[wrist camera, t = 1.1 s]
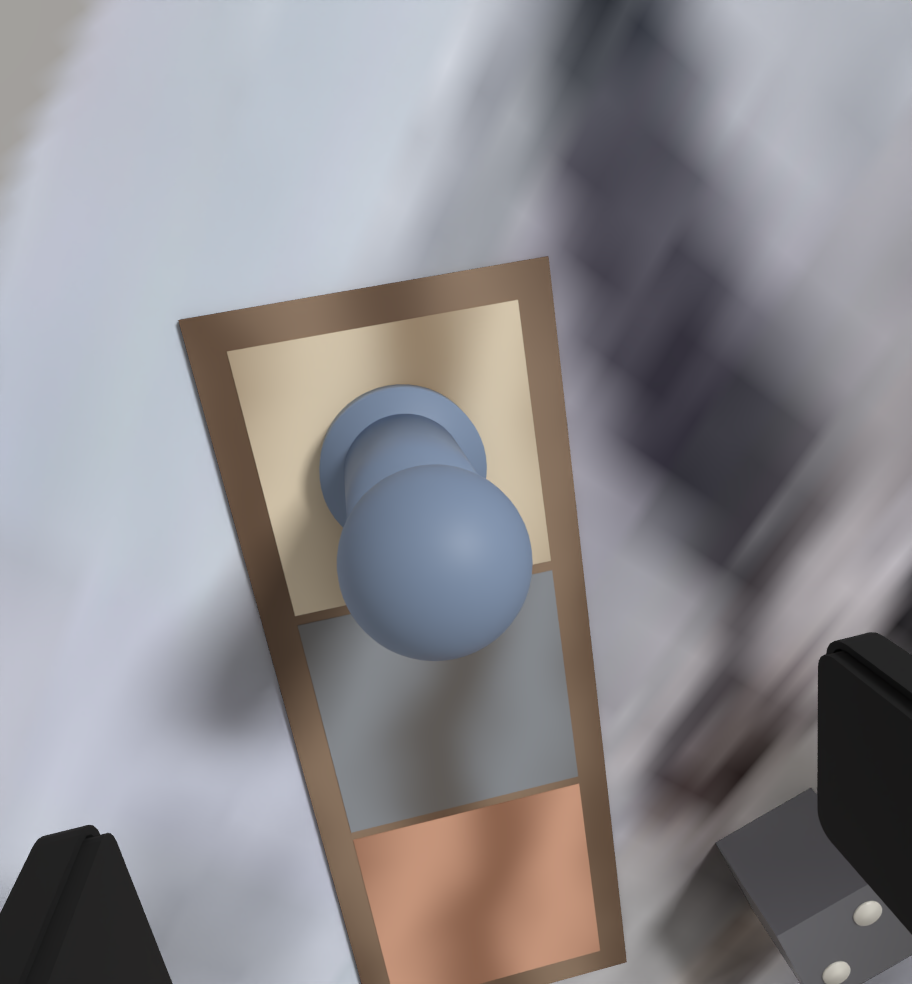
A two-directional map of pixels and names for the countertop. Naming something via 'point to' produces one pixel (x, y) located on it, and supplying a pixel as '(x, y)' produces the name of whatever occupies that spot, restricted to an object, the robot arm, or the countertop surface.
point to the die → (813, 897)
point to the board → (416, 683)
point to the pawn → (422, 525)
